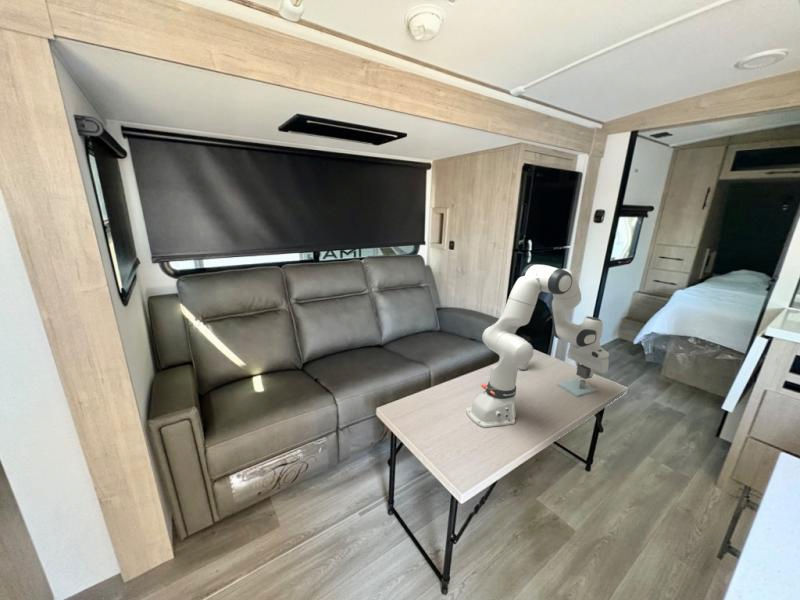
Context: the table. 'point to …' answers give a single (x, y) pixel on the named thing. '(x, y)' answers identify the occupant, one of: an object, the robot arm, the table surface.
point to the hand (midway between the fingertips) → (584, 373)
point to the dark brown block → (583, 371)
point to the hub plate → (577, 387)
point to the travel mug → (528, 339)
